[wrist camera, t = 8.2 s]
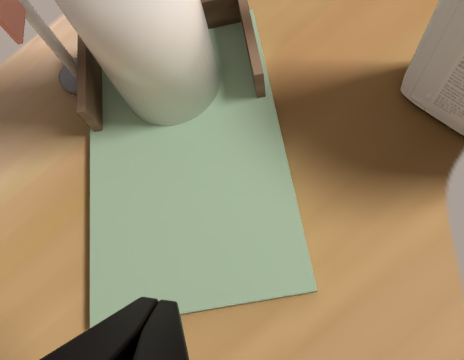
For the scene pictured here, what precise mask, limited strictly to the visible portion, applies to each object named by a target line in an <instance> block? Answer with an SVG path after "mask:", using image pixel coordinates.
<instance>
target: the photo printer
mask: <svg viewBox="0 0 464 360" xmlns="http://www.w3.org/2000/svg"><path fill="white" fill-rule="evenodd" d="M400 90H401V92H402V94H403V95H404V96H405V97H407V98H408V99H409V100H410V101H411V102H413V103H414V104H415V105H417V106H418V107H420V108H421V109H422V110H424V111H426V112H427V113H429V114H430V115H432V116H433V117H435V118H436V119H438V120H440V121H441V122H443V123H444V124H446V125H447V126H449V127H450V128H452V129H453V130H455V131H457V132H458V133H460V134H461V135H463V136H464V0H439V2H438V4H437V6H436V9H435V11H434V13H433V15H432V17H431V19H430V22H429V24H428V26H427V28H426V30H425V32H424V34H423V36H422V39H421V41H420V43H419V45H418V47H417V49H416V52H415V54H414V56H413V58H412V60H411V62H410V65H409V67H408V69H407V71H406V73H405V75H404V78H403V82H402V86H401V89H400Z"/></svg>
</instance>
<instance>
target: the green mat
mask: <svg viewBox="0 0 464 360" xmlns="http://www.w3.org/2000/svg"><path fill="white" fill-rule="evenodd" d="M249 11H250V15H251V19H252V24H253V28H254V33H255V37H256V42H257V46H258V51H259V55H260V59H261V64H262V68H263V73H264V82H265V93H266V97H262V98H257V95H256V90H255V85H254V81H253V76H252V71H251V66H250V62H249V57H248V52H247V47H246V42H245V38H244V33H243V28H242V23H241V22H239V23H235V24H230V25H226V26H221V27H217V28H212V29H208V30H209V34H210V38H211V41H212V45H213V49H214V53H215V56H216V60H217V64H218V68H219V72H220V86H219V90H218V93H217V95H216V97H215V99H214V100H213V102H212V103H211V104H210V106H209V107H208V108H207V109H206V110H205V111H204V112H203V113H201V114H200V115H199V116H197V117H195V118H194V119H192V120H190V121H188V122H185V123H182V124H178V125H173V126H158V125H153V124H150V123H147V122H145V121H143V120H141V119H140V118H138V117H137V116H136V115H135V114H134V113H133V112H132V111H131V109H130V108H129V106H128V105H127V103H126V102H125V101H124V99H123V98H122V96H121V95H120V93H119V92H118V91H117V89H116V88H115V86H114V85H113V83H112V82H111V81H110V79H109V78H108V76H107V75H106V73H105V72H104V71H103V69H102V107H103V130H102V131H97V132H94V131H93V130H92V129H91V128H90V328H91V327H93V326H95V325H96V324H98V323H99V322H101V321H103V320H104V319H106V318H107V317H109V316H111V315H112V314H114V313H115V312H117V311H119V310H120V309H122V308H124V307H125V306H127V305H128V304H130V303H132V302H133V301H135V300H136V299H138V298H140V297H149V298H156V299H158V301H160V300H162V299H163V300H170V301H176V302H177V303H178V307H179V312H180V315H182V314H188V313H194V312H200V311H206V310H212V309H218V308H224V307H230V306H236V305H241V304H247V303H253V302H259V301H265V300H271V299H277V298H283V297H289V296H295V295H301V294H307V293H313V292H317V287H316V282H315V278H314V273H313V269H312V265H311V260H310V256H309V252H308V247H307V243H306V239H305V234H304V230H303V226H302V221H301V217H300V213H299V208H298V204H297V199H296V195H295V191H294V186H293V182H292V178H291V173H290V169H289V165H288V160H287V156H286V152H285V147H284V143H283V139H282V134H281V130H280V125H279V121H278V117H277V112H276V108H275V104H274V99H273V95H272V91H271V86H270V82H269V78H268V73H267V69H266V65H265V60H264V56H263V51H262V47H261V43H260V38H259V34H258V30H257V25H256V21H255V17H254V12H253V9H251V10H249Z"/></svg>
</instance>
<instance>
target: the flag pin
mask: <svg viewBox="0 0 464 360" xmlns="http://www.w3.org/2000/svg"><path fill="white" fill-rule="evenodd" d="M25 18H26V20H27V21H28V22H29V23H30V24H31V25H32V27H33V28H34V29H35V30H36V32H37V33H38V34H39V35H40V36H41V38H42V39H43V40H44V41H45V42H46V44H47V45H48V46H49V47H50V49H51V50H52V51H53V52H54V53H55V55H56V56H57V57H58V58H59V59H60V61H61V62H62V63H63V64H64V66H63V68H62V69H61V71H60V74H59V81H60V83H61V85H62V86H63V87H64V88H65V89H66V90H67V91H68V92H70V93H72V94H77V58H75V59H73V58H72V56H71V55H70V54H69V53H68V51H67V50H66V49H65V47H64V46H63V45H62V44H61V42H60V41H59V40H58V38H57V37H56V36H55V35H54V33H53V32H52V31H51V29H50V28H49V27H48V26H47V24H46V23H45V22H44V20H43V19H42V18H41V17H40V15H39V14H38V13H37V11H36V10H35V9H34V8H33V6H32V5H31V4H30V2H29V1H28V0H0V26H1V27H2V28H3V29H4V30H5V31H6V32H7V33H8V34H9V35H10V37H11V38H12V39H13V40H14V41H15V42H16V43H17V44H22V43H23V36H24V25H25Z"/></svg>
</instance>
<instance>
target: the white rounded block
mask: <svg viewBox="0 0 464 360" xmlns="http://www.w3.org/2000/svg"><path fill="white" fill-rule="evenodd" d="M55 2H56V3H57V5H58V6H59V7H60V9H61V10H62V12H63V13H64V15H65V16H66V18H67V19H68V20H69V22H70V23H71V25H72V26H73V28H74V29H75V30H76V32H77V33H78V35H79V36H80V38H81V39H82V41H83V42H84V43H85V45H86V46H87V48H88V49H89V51H90V52H91V53H92V55H93V56H94V58H95V59H96V61H97V62H98V63H99V65H100V66H101V68H102V69H103V71H104V72H105V73H106V75H107V76H108V78H109V79H110V81H111V82H112V83H113V85H114V86H115V88H116V89H117V91H118V92H119V93H120V95H121V96H122V98H123V99H124V101H125V102H126V103H127V105H128V106H129V108H130V109H131V111H132V112H133V113H134V114H135V115H136V116H137V117H138V118H140V119H141V120H143V121H145V122H147V123H150V124H153V125H158V126H173V125H178V124H182V123H185V122H188V121H190V120H192V119H194V118H195V117H197V116H199V115H200V114H201V113H203V112H204V111H205V110H206V109H207V108H208V107H209V106H210V104H211V103H212V102H213V100H214V99H215V97H216V95H217V93H218V90H219V86H220V72H219V68H218V64H217V60H216V56H215V53H214V49H213V45H212V41H211V38H210V34H209V30H208V26H207V22H206V19H205V15H204V11H203V7H202V3H201V0H55Z"/></svg>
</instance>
